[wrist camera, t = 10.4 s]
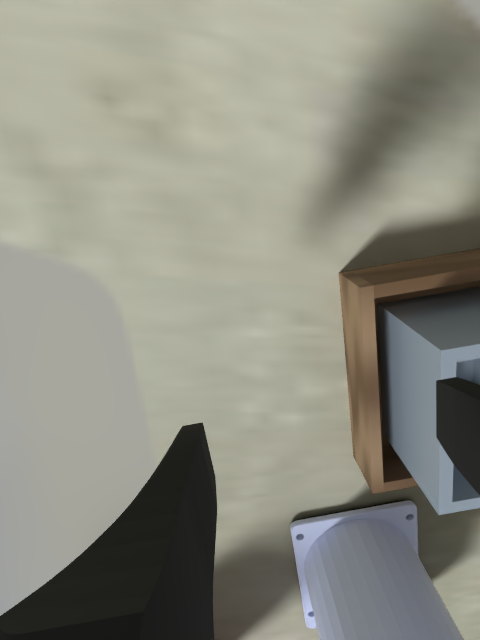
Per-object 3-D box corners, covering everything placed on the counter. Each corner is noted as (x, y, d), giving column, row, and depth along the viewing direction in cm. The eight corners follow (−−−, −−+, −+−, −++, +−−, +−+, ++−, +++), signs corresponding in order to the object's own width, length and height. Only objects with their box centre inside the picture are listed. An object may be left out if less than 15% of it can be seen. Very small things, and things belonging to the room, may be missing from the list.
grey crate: (474, 417, 23) (558, 493, 18) (383, 433, 23) (438, 515, 18) (481, 286, 21) (582, 326, 15) (377, 303, 21) (441, 350, 15)
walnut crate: (495, 426, 25) (539, 464, 21) (351, 452, 24) (372, 493, 21) (507, 241, 21) (562, 252, 18) (336, 271, 21) (359, 287, 17)
